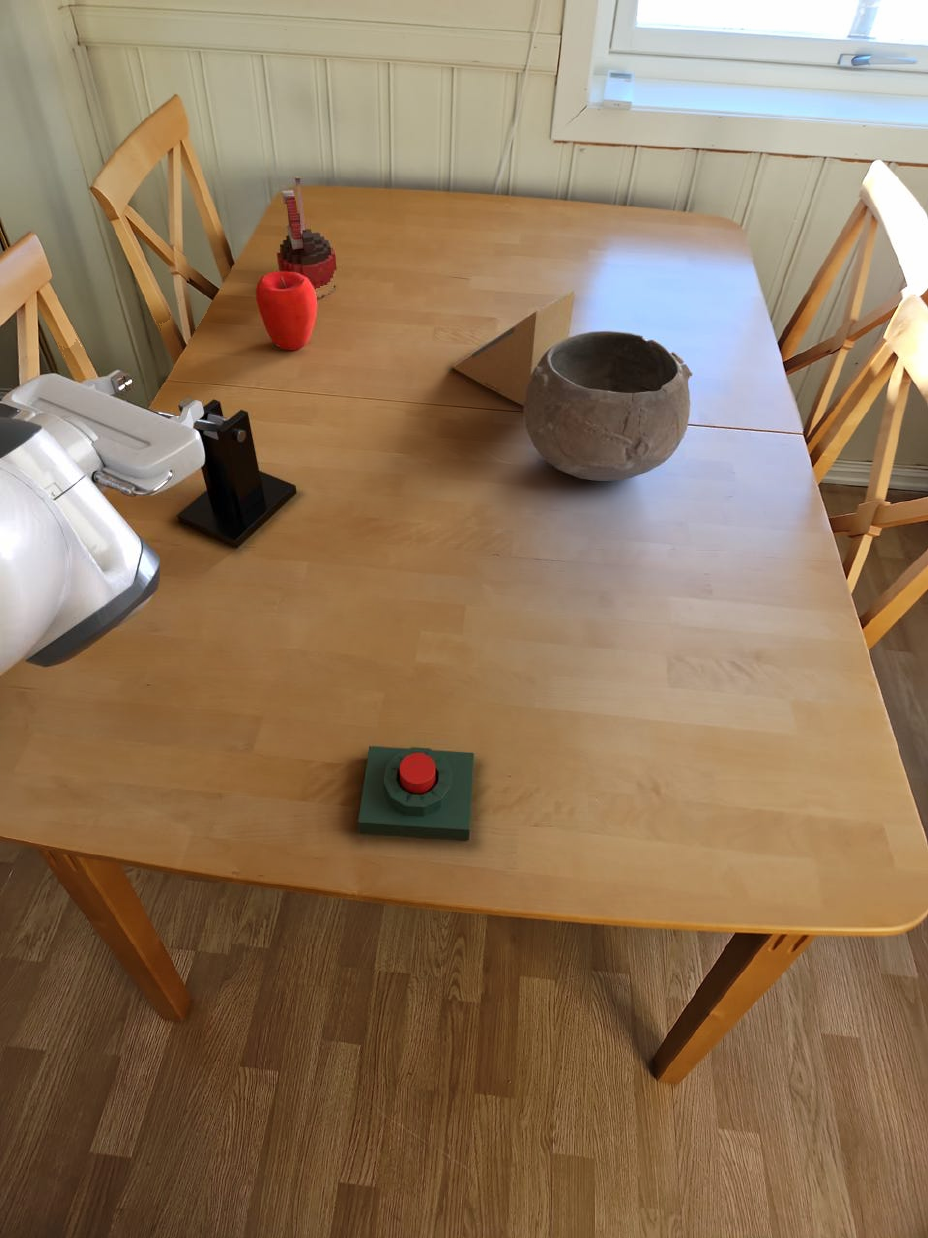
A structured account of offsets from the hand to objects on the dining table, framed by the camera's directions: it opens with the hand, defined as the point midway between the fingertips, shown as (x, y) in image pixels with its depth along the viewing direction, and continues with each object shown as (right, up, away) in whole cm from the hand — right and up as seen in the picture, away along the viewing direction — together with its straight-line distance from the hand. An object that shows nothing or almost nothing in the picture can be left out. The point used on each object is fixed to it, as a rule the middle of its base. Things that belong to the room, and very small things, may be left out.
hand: (161, 391), depth 84 cm
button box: (+27, -40, -7) cm, 49 cm away
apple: (+4, +20, +45) cm, 50 cm away
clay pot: (+49, -1, +28) cm, 57 cm away
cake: (+4, +33, +57) cm, 66 cm away
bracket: (+3, -9, +19) cm, 22 cm away
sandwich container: (+37, +14, +41) cm, 57 cm away
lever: (+1, -3, +5) cm, 6 cm away
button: (+27, -38, -10) cm, 47 cm away
